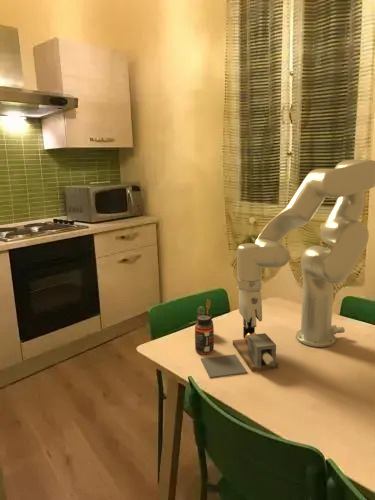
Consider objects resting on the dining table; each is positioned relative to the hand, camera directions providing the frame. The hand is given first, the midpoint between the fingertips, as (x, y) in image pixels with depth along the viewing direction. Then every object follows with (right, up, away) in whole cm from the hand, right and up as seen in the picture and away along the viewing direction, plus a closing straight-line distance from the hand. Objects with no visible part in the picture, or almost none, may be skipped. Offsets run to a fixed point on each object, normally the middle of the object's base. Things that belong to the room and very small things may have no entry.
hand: (248, 338), depth 126 cm
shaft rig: (+1, -4, -4) cm, 6 cm away
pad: (-9, -6, -10) cm, 15 cm away
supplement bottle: (-14, -4, 0) cm, 15 cm away
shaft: (+2, -3, -9) cm, 10 cm away
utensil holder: (-14, -1, +12) cm, 18 cm away
